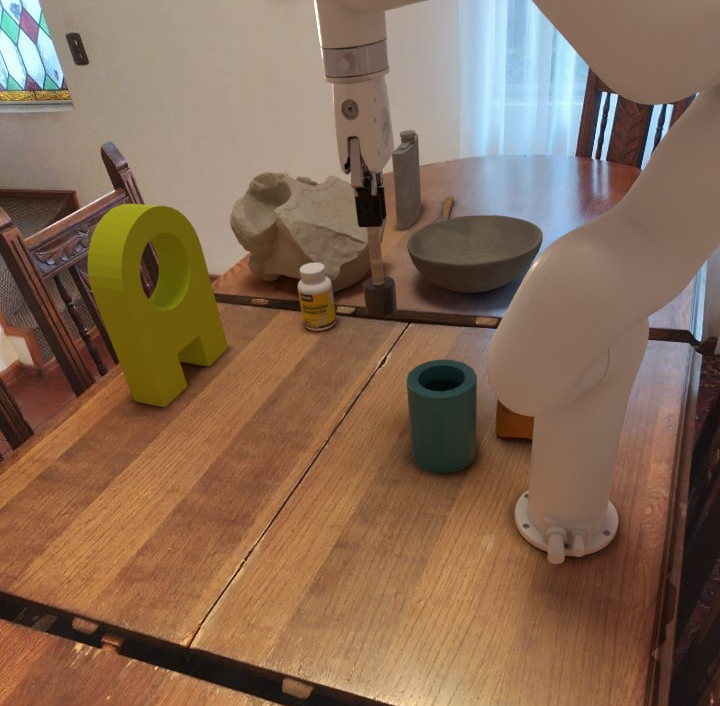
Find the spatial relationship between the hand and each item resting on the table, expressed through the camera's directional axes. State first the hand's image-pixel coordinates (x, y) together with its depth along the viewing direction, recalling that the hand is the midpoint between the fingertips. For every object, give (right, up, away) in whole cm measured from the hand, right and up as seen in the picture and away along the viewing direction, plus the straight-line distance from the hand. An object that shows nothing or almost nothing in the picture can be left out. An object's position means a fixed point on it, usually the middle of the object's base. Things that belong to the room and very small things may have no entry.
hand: (372, 221), depth 88 cm
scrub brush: (+1, -10, +8) cm, 13 cm away
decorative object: (-34, -15, +36) cm, 51 cm away
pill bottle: (-9, -4, +44) cm, 46 cm away
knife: (+18, +27, +76) cm, 83 cm away
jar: (+11, -30, +11) cm, 33 cm away
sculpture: (-10, +11, +62) cm, 64 cm away
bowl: (+22, +6, +51) cm, 56 cm away
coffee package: (+24, -25, +14) cm, 38 cm away
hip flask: (+11, +31, +81) cm, 88 cm away
